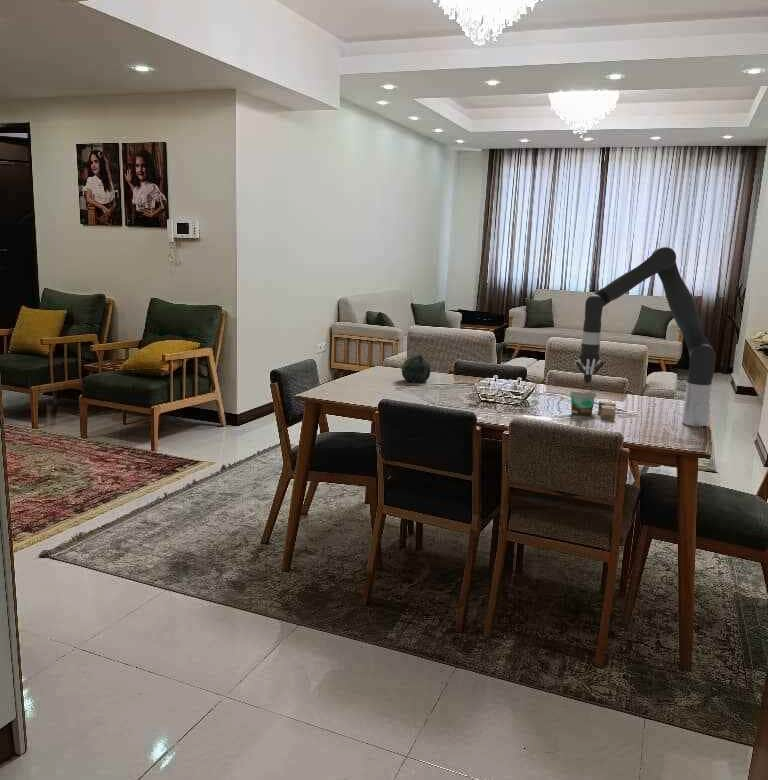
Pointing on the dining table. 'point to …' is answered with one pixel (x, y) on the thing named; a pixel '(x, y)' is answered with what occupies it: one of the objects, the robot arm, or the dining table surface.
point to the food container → (582, 402)
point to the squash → (416, 369)
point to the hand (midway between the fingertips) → (587, 382)
